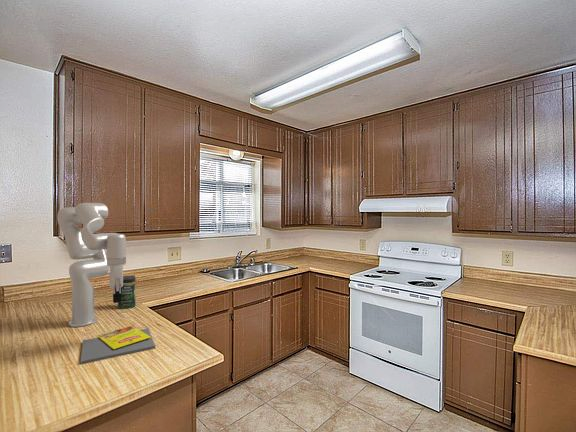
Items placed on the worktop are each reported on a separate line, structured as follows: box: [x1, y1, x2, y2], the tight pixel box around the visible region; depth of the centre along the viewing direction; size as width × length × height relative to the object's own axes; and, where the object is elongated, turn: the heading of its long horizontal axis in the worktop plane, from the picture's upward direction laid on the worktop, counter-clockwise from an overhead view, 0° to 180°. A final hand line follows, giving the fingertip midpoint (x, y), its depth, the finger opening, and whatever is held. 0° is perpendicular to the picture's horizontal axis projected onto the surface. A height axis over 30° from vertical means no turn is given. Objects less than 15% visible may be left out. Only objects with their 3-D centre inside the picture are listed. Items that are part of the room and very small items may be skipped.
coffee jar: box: [117, 274, 137, 309], centre depth 183 cm, size 10×8×19 cm
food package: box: [97, 325, 152, 349], centre depth 137 cm, size 15×1×20 cm
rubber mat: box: [80, 328, 156, 365], centre depth 132 cm, size 22×26×1 cm
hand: (117, 302), depth 139 cm, fingers closed
